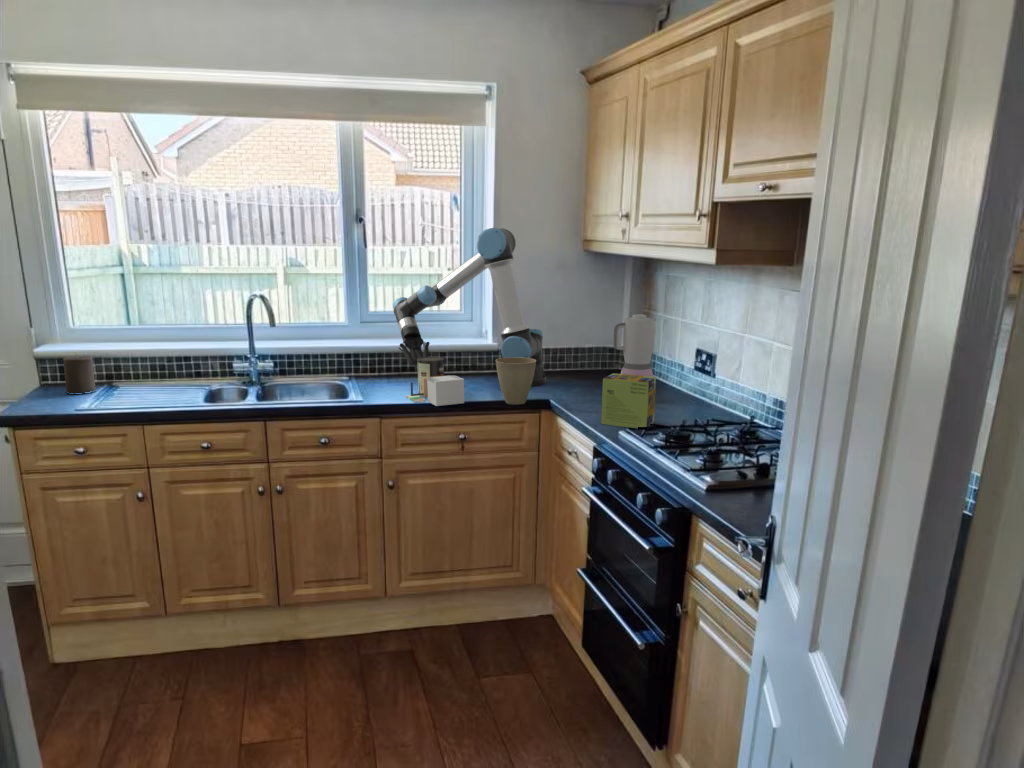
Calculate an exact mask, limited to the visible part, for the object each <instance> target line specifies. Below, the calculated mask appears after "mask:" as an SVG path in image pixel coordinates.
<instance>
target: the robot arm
mask: <svg viewBox="0 0 1024 768" xmlns="http://www.w3.org/2000/svg"><path fill="white" fill-rule="evenodd" d="M475 245H476V250H477V252H476V253H475V254H474V255H472V256H471V257H469V258H468V259H467V260H466V261H464V262H462V264H460V265H459V266H458V267H457V268H455V269H454V270H453V271H451V272H450V273H448V275H446V276H445V277H444V278H442V279H441V280H440V281H439V282H437V283H435V284H434V285H433V286H432V287H431V286H430V285H424V286H422V287H420V288H419V289H418V290H417V291H415V292H414V293H413V294H411V295H410V296H409V297H404V296H401V297H400V298H396V299H395V300H394V301H393V303H392V309H393V314H394V316H395V319H396V322H397V326H398V328H399V332H400V335H401V338H402V343H401V342H400V344H399V346H398V349H399V350H400V351H401V352H402V353H403V355H404V357H405V358H406V360H407V361H408V364H409V365H410V366H414V367H413V368H416V369H415V370H416V372H417V373H418V361H417V359H418V358H422V357H430V355H429V354H430V351H429V347H430V342H429V341H427V342H426V341H424V339H423V338H422V335H421V332H420V329H419V326H418V324H417V320H416V316H417V315H418V314H419V313H421V312H422V311H424V310H425V309H427V308H432V307H438V306H441V305H443V304H444V303H445V301H446V300H447V299H448V298H449V297H451V296H452V295H454V293H456V292H457V291H458V290H460V289H461V288H463V287H464V286H465V285H467V284H468V283H469V282H471V281H472V280H473V279H474V278H476V277H477V276H478V275H480V274H481V273H482V272H484V271H485V270H486V269H488V270H489V273H490V277H491V281H492V287H493V290H494V293H495V298H496V302H497V308H498V312H499V315H500V320H501V323H502V331H501V332H500V336H501V337H500V338H501V341H502V343H501V347H500V352H501V356H502V358H508V357H523V358H531V359H535V360H536V366H535V372H534V377H533V381H532V385H531V387H532V386H534V387H535V386H541V385H545V384H547V377H546V373H545V369H544V366H543V338H544V336H543V330H542V329H540V328H530V327H529V326H528V325H527V324H525V321H524V316H523V312H522V307H521V304H520V300H519V295H518V291H517V290H518V289H517V286H516V281H515V277H514V273H513V269H512V264H513V263H512V262H513V261H514V256H513V253H514V251H515V249H516V246H517V242H516V238H515V235H514V234H513V232H511V231H510V230H509V229H506V228H498V227H491V228H487V229H484V230H482V231H481V232H480V233H479V235H478V236H477V240H476V244H475ZM422 345H423V348H424V349H423V350H422Z"/></svg>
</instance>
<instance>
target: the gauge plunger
mask: <svg viewBox="0 0 1024 768" xmlns="http://www.w3.org/2000/svg"><path fill="white" fill-rule="evenodd" d="M446 376H451V375H446ZM436 377H440V376H436ZM427 378H429V377H425V378H422V390H423V393H419V394H418V393H414V384H413V382H412V381H411V382H410V395H411V396H419V395H423V396H424V397H423V398H427V397H426V396H428V386H427Z"/></svg>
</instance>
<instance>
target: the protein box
mask: <svg viewBox="0 0 1024 768" xmlns="http://www.w3.org/2000/svg"><path fill="white" fill-rule="evenodd" d="M656 383H657V376H653V377H652V376H640V375H627V374H621V373H615V372H614V373H611V374H609V375H607V376H605V377H603V379H602V393H601V395H602V396H601V419H600V420H601V421H600V424H601V425H606V426H614V427H624V428H631V429H638V427H647V426H648V425H650V424H652V425H653V424H654V423H655V410H656V409H655V407H656V388H657V387H656V386H657V384H656ZM650 426H651V425H650Z"/></svg>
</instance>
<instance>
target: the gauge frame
mask: <svg viewBox="0 0 1024 768" xmlns="http://www.w3.org/2000/svg"><path fill="white" fill-rule="evenodd" d="M427 386H428V397H427V402H428V403H430V404H432V405H434V406H435V407H439V406H448V405H449V406H450V405H459V404H465V378H462V377H460V376H457V375H454V374H453V375H450V376H447V375H444V376H440V377H429V378H427ZM405 398H406V399H408V400H409V401H411V402H412V403H415V404H416V403H424V402H426V399H425V397H422V396H419V395H418V396H411V394H406V395H405Z"/></svg>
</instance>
